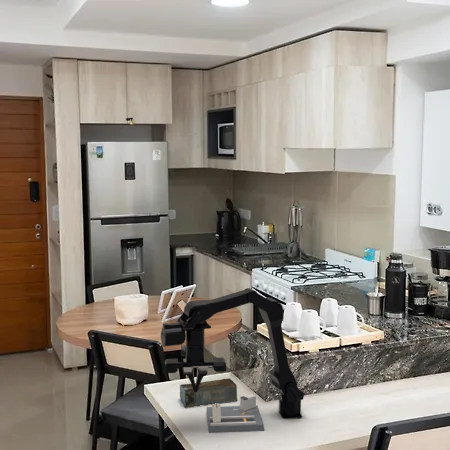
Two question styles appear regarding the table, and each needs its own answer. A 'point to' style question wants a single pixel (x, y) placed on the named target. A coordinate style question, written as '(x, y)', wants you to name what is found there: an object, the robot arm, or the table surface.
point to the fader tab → (216, 413)
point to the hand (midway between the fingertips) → (195, 392)
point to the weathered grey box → (208, 393)
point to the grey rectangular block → (247, 402)
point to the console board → (236, 420)
